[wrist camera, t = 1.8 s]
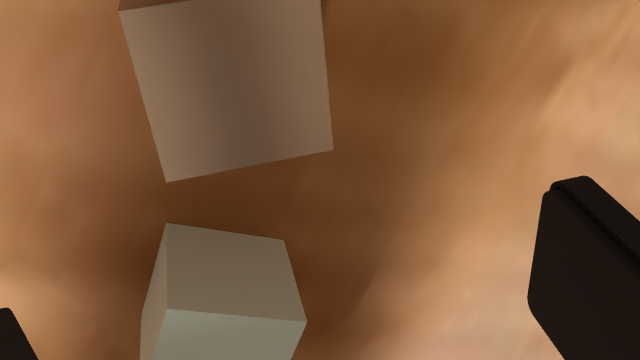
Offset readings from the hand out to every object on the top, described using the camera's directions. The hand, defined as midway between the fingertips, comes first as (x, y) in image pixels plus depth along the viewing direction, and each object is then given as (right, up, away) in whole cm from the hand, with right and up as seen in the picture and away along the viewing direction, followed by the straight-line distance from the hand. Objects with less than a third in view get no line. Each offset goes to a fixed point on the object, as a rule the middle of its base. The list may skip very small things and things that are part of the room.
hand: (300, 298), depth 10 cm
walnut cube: (-4, +8, +14) cm, 16 cm away
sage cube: (-5, -3, +20) cm, 21 cm away
